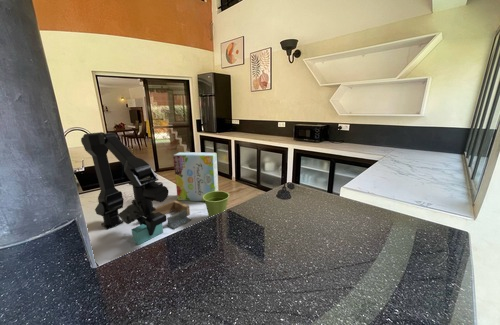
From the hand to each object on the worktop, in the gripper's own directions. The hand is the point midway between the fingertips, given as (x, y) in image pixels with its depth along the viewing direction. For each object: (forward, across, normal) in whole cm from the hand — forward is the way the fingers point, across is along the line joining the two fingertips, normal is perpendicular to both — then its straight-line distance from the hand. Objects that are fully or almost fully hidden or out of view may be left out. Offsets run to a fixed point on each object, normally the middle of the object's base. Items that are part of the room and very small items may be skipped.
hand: (148, 233), depth 82 cm
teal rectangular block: (+1, 0, 0) cm, 1 cm away
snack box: (+2, -12, +36) cm, 38 cm away
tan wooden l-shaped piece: (+2, -6, +13) cm, 14 cm away
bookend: (+2, +2, +13) cm, 14 cm away
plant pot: (+2, +12, +26) cm, 29 cm away
